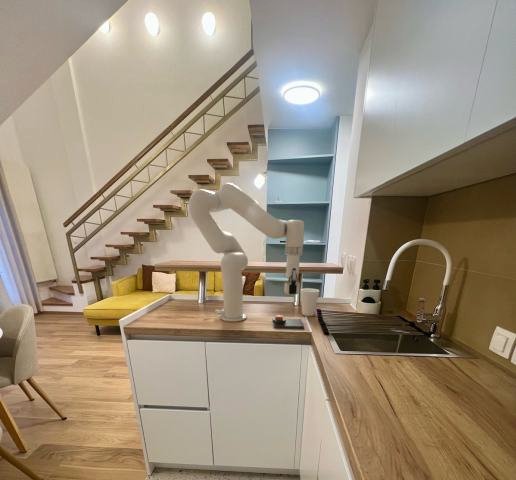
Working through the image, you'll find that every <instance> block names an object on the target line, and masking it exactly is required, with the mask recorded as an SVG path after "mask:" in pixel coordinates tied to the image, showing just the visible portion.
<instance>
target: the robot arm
mask: <svg viewBox="0 0 516 480" xmlns="http://www.w3.org/2000/svg"><path fill="white" fill-rule="evenodd" d="M226 210H232V211H233V212H235V213H236V214H237V215H239V216H240V217H241V218H243V219H244V220H245V221H246V222H247V223H249V224H250V225H251V226H253V228H255V229H256V230H258V231H259V232H260V233H262V234H264V235H265V236H266V237H268V238H270V239H272V240H276V239H285V248H284V249H285V250H284V255H285V256H286V266H285V278H286V279H288V280H287V282H290V285H289V294H296V288H297V285H296V282H298V281H297V279H298V278H299V272H300V261H301V259H300V258H301V256H303V253H304V251H303V250H304V237H305V235H304V234H305V222H304V221H303V220H302V219H289V220H284V219H283V220H282V219H278V218H276V217H275V216H273V215H272V214H270V213H269V212H268V211H266V210H265V209H263V207H262V206H260V204H259V203H258V201H257V200H255V199H254V198H253V197H251V196H250V195H248V194H247V193H246V192H244V191H243V190H242V189H241V188H240V187H239V186H238V185H236V184H233V183H230V182H226V183H223V184H221V186H220V187H219V188H218V190H215V191H210V190H208V189H201V188H200V189H199V188H198V189H195V190H194V191H193V192H192V193H191V195H190V197H189V200H188V211H189V215H190V217H191V219H192V221H193V223H194V224H195V225H196V227H197V229H198V230H199V232H200V234H201V235H202V236H203V238H204V239H205V241H206V242H207V244H208V245H209V247H210V248H211V250H212V251H213V252H214V253H215V254H223V256H222V258H221V260H220V272H221V277H222V296H223V297H222V299H223V300H222V301H223V308H222V309H215V310H214V314H216V315H220V319H221V320H222V321H224V322H231V323H232V322H233V323H234V322H242V321H245V320H246V319H247V315H246V314H245V313H244V284H243V283H244V282H243V275H242V272H243V271H244V270H245V269H246V268H247V267H248V264H249V260H248V255H247V254H246V253H245V251H244V249H243V247H242V245H240V243H239V241H238V240H237V238H236V237H235V236H234V235H233V234H232V233H231V232H229V231H223V229H222V228H221V226H220V225H219V223H218V221H216V219H215V218H214V217H213V216H212V214H211V213H218V212H222V211H226ZM289 294H288V295H289ZM296 295H297V294H296Z"/></svg>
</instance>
